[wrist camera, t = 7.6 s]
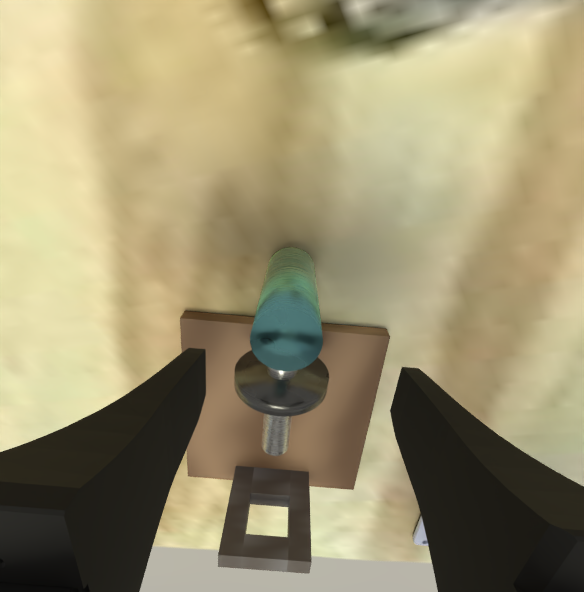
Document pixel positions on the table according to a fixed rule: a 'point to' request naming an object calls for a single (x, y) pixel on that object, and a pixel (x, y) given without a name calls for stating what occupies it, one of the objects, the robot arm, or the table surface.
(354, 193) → the table surface
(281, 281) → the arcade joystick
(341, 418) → the eye stand
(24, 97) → the table surface
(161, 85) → the table surface
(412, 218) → the table surface
